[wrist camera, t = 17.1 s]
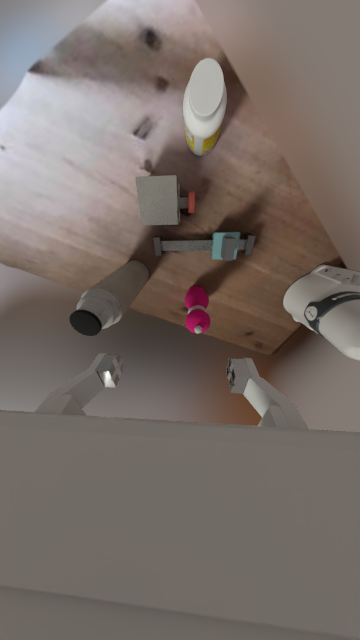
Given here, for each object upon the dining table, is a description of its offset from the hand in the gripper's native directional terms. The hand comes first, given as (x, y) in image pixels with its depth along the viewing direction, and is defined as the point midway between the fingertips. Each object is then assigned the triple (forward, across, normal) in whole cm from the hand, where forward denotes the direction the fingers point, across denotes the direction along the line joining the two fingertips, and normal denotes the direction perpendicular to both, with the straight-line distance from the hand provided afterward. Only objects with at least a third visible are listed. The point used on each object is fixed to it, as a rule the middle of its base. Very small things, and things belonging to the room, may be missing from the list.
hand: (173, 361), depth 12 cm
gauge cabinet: (+39, +6, -12) cm, 41 cm away
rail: (+39, -4, -3) cm, 39 cm away
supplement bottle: (+39, -3, -23) cm, 46 cm away
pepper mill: (+39, -3, +12) cm, 41 cm away
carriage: (+39, -10, -3) cm, 40 cm away
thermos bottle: (+39, +16, +5) cm, 43 cm away
